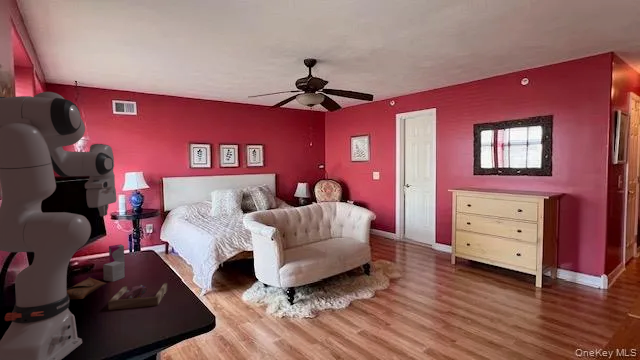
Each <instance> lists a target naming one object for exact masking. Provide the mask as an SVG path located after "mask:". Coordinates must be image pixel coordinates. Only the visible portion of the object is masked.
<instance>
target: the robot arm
mask: <svg viewBox="0 0 640 360" xmlns="http://www.w3.org/2000/svg"><path fill="white" fill-rule="evenodd" d="M85 132H86V126H85V123H84V121H83V119H82V115H81V112H80V110H79V107H78V106H77V105H76V104H75V103H74V102H73V101H71V100H69V99H67V98H64V97H63V96H62V95H60V94H59V93H57V92H53V91H43V92H39V93H37V94H35V95H34V96H31V95H26V96H25V95H24V96H23V95H22V96H20V95H19V96H8V97H5V96H0V187H1V197H2V198H1V204H0V251H1V252H7V253H34V257H33V260H32V263H31V265H29V266H27V267H25V268H23V269H22V270H21V271H19V272H18V274H17V275H16V277H15V278H14V279H15V280H14V286H15V291H14V292H15V304H14V307H13V310H12V312H7V313H6V314H5V316H4V321H5V322H10V321H11V323H10V325H9V327H8V329H6V331H5V332H4V334H3V336H2V338H1V339H0V360H62V359H64V358H65V357H67V356H68V355H69V354H70V353H71V352H73V351H74V350H75V349H76V348H78V347H79V346H81V344H83V339H82V338H80V337H78V331H77V324H76V318H75V315H74V314H73V313H72V312H71V311H70V309H69V307H70V299H69V295H68V294H67V289H68V288H67V287H68V286H67V285H68V283H67V280H68V279H67V277H68V276H67V275H68V267H69V264H70V261H71V259H72V257H73V256H74V254H75V253H76V252H78V250H79V249H81V248H82V247H84V246H85V244H86V243H87V242H88V241H89V239H90V236H91V233H92V226H91V223H90V221H89V219H87V217H86V216H84V215H82V214H78V213H73V212H72V213H71V212H67V211H66V212H65V211H63V212H60V211H59V212H57V211H56V212H55V211H54V212H43V211H42V202H43V201H44V200H46V199H47V198H49V197H50V196H51V195H53V193H54V192H55V191H56V189H57V183H56V178H55V174H56V175H58V176H59V177H61V178H71V177H89V179H88V180H87V181H86V182H85V183H84V188H85V189H86V191H85V192H86V195H85V196H86V203H87V205H86V206H87V207H88V208H89V209H90V208H92V209H93V208H97V209H98V212H99V216H100V217H106V216H108V209H109V205H110V204H114V203H116V202H117V191H116V182H115V181H116V179H115V172H114V167H115V158H114V152H113V148H112V146H110V145H108V144H104V143H93V144H91V145H90V147H89V151H69V150H64V147H68V146H69V147H70V146H72V145H75V144H77V143H78V142H79V141H80V140H81V139H82V138H83V137H84V134H85ZM85 189H84V190H85Z"/></svg>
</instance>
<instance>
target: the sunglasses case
mask: <svg viewBox="0 0 640 360" xmlns="http://www.w3.org/2000/svg"><path fill="white" fill-rule="evenodd" d="M105 285H107V282H104V281H101V280H99V279H95V278H92V277H91V276H89V277H88V278H87V279H84V280H82V281H80V282H78V283H76V284H75V285H73V286H71V287H68V288H67V294H68V295H69V300H82V299H85V298H86V297H87V296H89V295H90V294H92V293H94V292H95V291H96V290H99V288H101V287H103V286H105Z"/></svg>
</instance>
